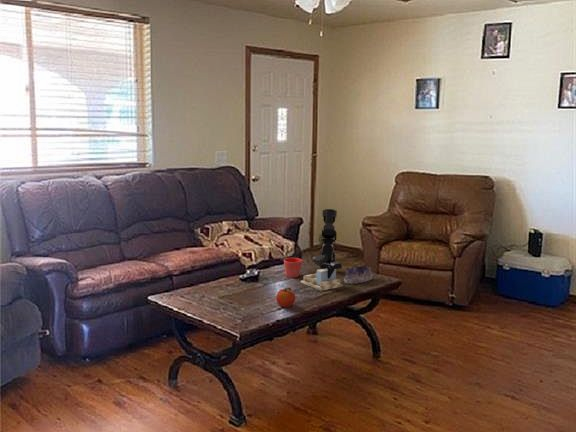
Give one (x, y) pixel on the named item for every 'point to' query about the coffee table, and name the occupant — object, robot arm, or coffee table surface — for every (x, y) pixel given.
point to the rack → (325, 285)
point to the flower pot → (292, 266)
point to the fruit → (285, 297)
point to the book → (324, 275)
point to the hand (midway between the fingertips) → (326, 277)
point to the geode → (358, 275)
